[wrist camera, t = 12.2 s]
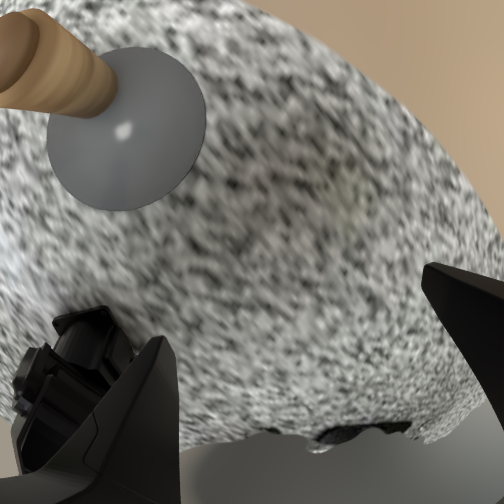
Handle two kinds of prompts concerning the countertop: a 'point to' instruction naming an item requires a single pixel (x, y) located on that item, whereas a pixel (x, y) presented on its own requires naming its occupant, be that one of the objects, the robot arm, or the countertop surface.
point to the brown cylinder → (51, 68)
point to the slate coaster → (131, 134)
